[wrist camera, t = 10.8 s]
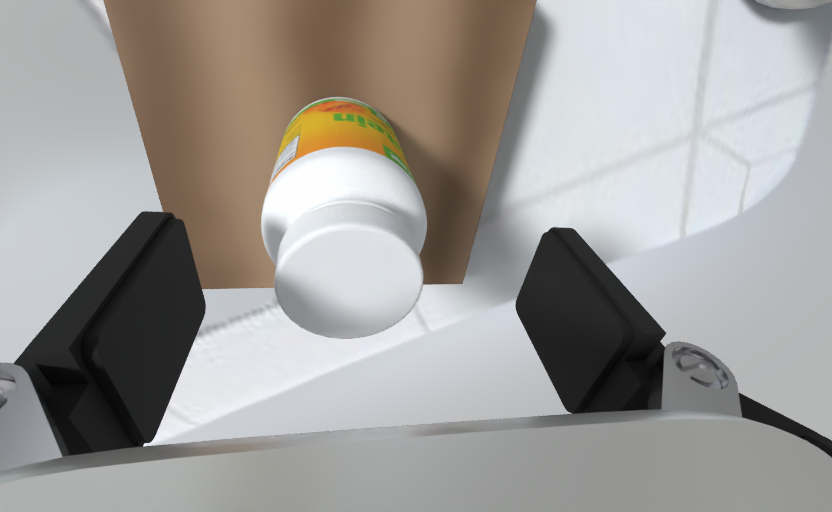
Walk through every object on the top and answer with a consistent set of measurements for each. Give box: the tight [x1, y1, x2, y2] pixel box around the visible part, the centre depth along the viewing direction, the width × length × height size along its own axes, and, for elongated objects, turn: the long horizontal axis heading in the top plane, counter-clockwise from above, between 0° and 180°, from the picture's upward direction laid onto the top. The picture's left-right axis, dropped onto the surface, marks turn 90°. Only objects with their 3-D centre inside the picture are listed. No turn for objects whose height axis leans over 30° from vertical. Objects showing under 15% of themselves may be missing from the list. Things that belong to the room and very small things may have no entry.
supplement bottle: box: [261, 97, 427, 339], centre depth 14 cm, size 5×5×10 cm
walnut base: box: [104, 0, 537, 289], centre depth 19 cm, size 16×16×3 cm
